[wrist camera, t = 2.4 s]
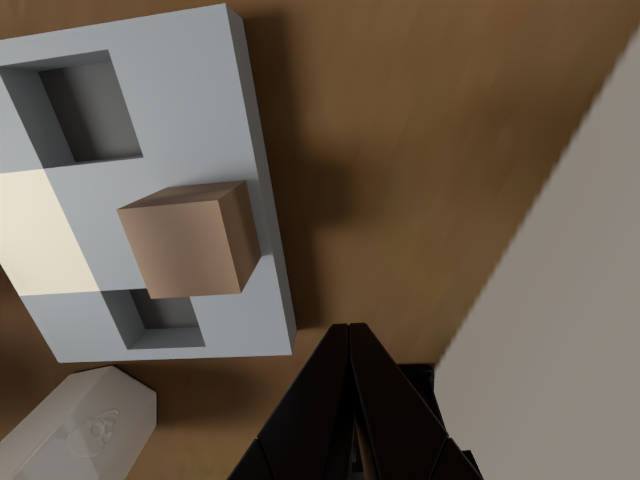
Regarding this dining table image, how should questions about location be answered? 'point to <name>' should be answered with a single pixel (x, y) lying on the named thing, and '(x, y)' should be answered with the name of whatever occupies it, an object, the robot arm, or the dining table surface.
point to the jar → (82, 430)
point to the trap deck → (132, 183)
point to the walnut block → (193, 239)
